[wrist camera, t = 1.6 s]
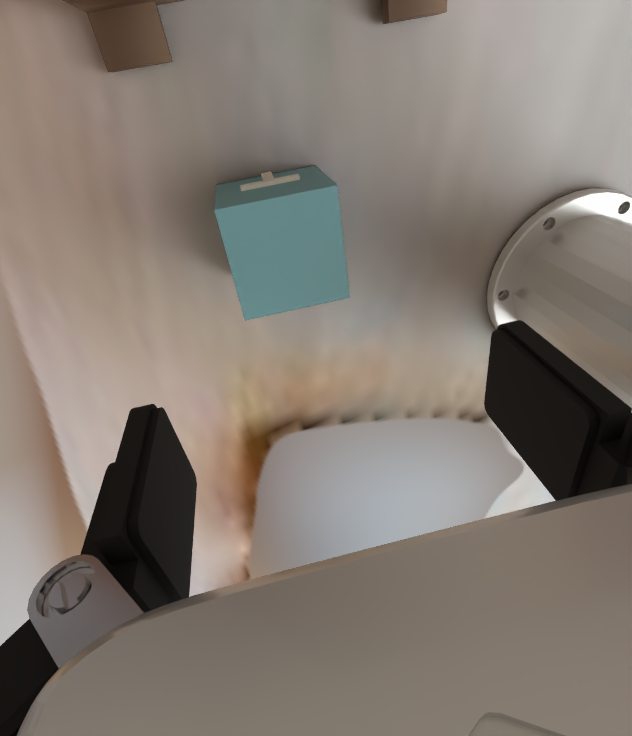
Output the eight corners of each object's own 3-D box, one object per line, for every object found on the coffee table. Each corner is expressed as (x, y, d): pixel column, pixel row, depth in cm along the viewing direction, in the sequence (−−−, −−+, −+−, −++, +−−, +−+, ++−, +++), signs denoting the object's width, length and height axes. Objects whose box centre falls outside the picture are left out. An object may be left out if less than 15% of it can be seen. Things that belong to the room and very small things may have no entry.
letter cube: (314, 161, 25) (336, 180, 20) (328, 260, 29) (349, 297, 24) (215, 181, 25) (212, 205, 20) (241, 279, 28) (244, 320, 23)
